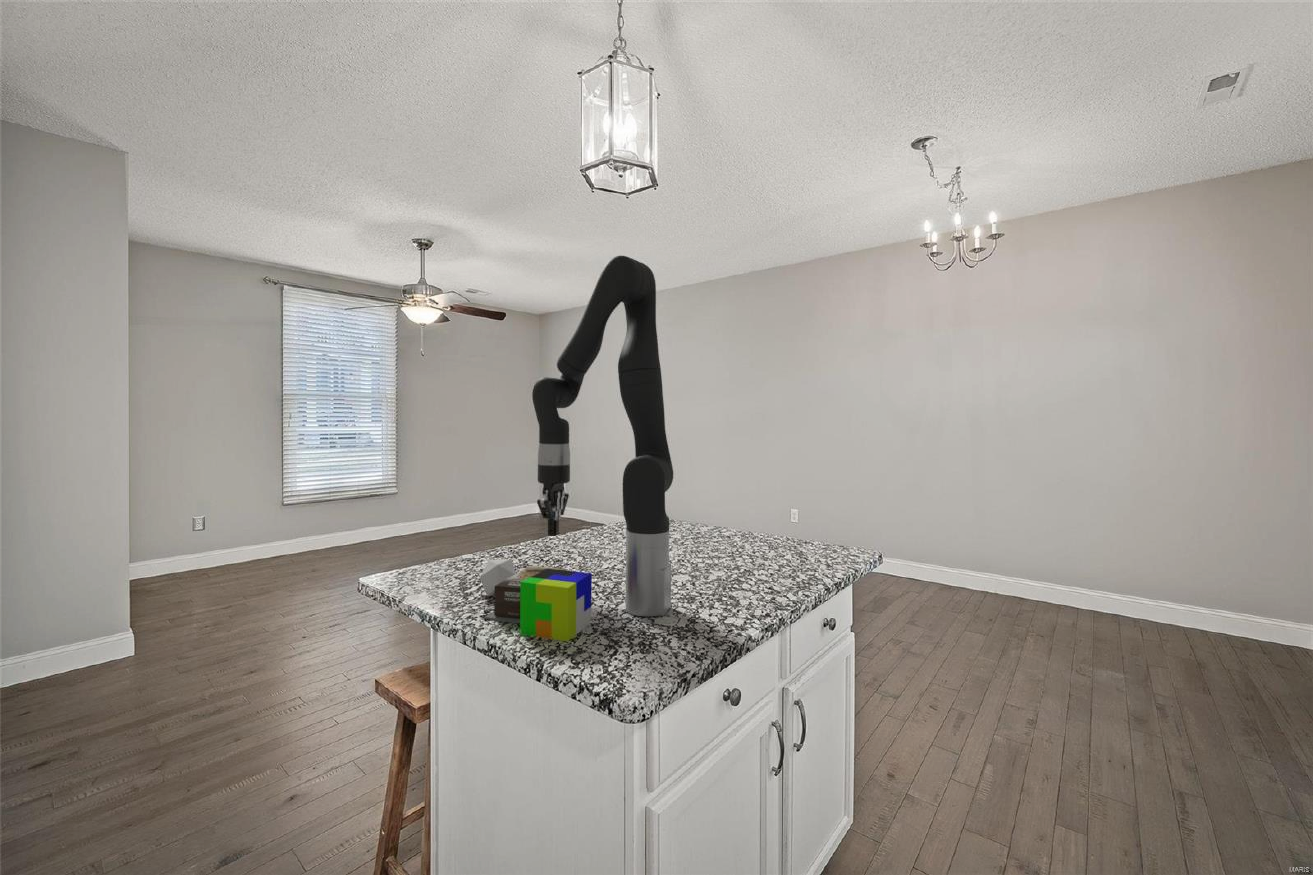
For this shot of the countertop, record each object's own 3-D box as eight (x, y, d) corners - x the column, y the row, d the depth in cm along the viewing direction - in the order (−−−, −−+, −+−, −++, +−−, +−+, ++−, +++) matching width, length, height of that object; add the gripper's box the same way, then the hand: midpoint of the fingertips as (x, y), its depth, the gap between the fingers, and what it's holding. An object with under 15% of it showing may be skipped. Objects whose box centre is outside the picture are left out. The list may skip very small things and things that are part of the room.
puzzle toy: (591, 622, 108) (591, 573, 108) (567, 642, 99) (568, 587, 98) (547, 616, 111) (547, 568, 111) (520, 634, 102) (520, 582, 101)
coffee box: (565, 567, 123) (535, 589, 107) (565, 595, 123) (534, 621, 107) (528, 564, 125) (493, 585, 109) (528, 592, 125) (492, 616, 109)
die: (502, 605, 119) (526, 566, 123) (468, 585, 119) (493, 547, 123) (504, 606, 127) (527, 570, 130) (473, 588, 127) (496, 552, 131)
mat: (559, 598, 122) (559, 596, 122) (524, 623, 107) (524, 621, 107) (523, 594, 125) (523, 592, 125) (484, 618, 109) (484, 617, 109)
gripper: (556, 465, 120) (556, 542, 121) (579, 461, 133) (578, 530, 133) (526, 464, 122) (525, 540, 122) (551, 460, 135) (550, 529, 135)
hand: (553, 535), depth 128 cm, fingers closed
